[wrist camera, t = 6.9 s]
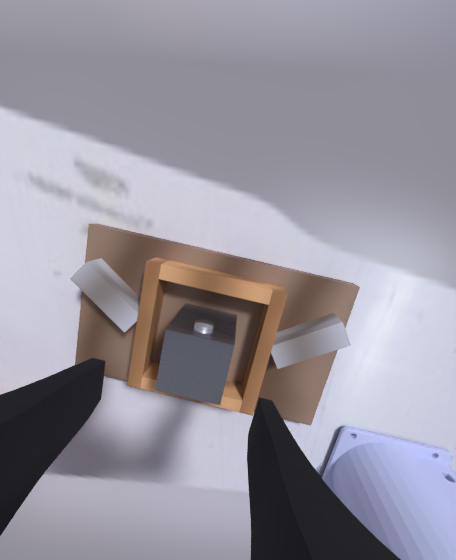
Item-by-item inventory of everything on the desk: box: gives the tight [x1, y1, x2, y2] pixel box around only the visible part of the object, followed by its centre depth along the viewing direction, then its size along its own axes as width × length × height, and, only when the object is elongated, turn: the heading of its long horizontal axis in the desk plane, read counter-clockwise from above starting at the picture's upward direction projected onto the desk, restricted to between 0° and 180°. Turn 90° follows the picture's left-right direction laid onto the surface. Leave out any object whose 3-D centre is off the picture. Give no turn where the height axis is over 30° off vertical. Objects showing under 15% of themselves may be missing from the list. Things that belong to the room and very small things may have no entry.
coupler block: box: [155, 303, 237, 405], centre depth 17 cm, size 4×5×5 cm
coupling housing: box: [71, 224, 360, 425], centre depth 19 cm, size 20×12×3 cm, turn 77°
